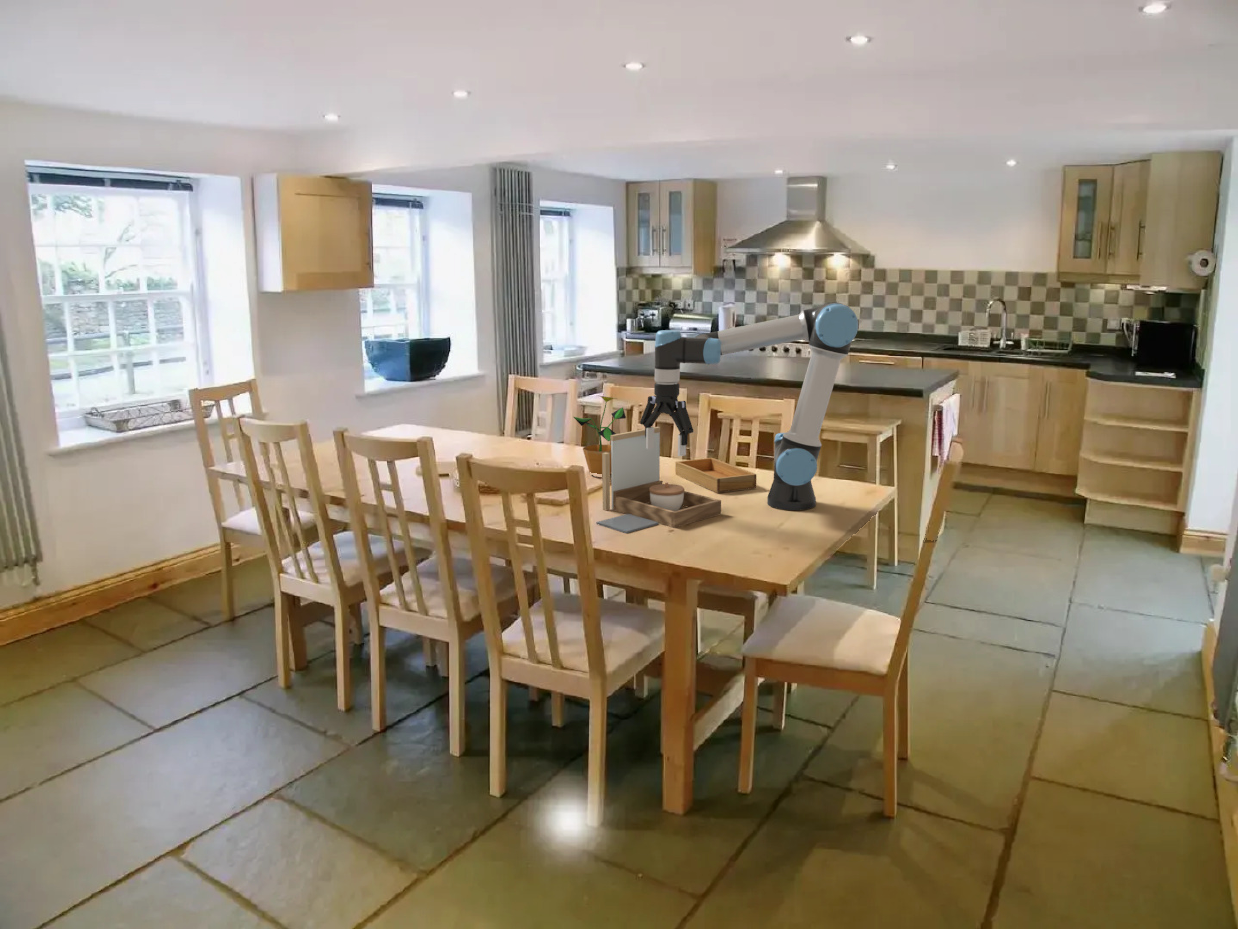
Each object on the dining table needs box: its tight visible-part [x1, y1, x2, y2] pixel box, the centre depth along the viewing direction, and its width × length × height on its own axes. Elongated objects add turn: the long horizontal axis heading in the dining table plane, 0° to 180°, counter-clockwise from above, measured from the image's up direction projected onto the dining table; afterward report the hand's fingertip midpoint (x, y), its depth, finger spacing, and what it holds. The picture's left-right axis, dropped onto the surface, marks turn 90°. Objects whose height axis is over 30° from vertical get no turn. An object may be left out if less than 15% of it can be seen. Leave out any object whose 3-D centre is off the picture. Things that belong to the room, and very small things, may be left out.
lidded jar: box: [649, 482, 685, 511], centre depth 285 cm, size 11×11×9 cm
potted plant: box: [573, 395, 627, 474], centre depth 331 cm, size 18×19×30 cm
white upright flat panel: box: [601, 426, 661, 511], centre depth 293 cm, size 3×22×24 cm, turn 133°
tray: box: [675, 457, 757, 494], centre depth 323 cm, size 31×15×6 cm, turn 23°
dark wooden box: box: [612, 480, 722, 529], centre depth 285 cm, size 26×20×6 cm
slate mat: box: [596, 513, 659, 534], centre depth 274 cm, size 13×13×1 cm
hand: (665, 452), depth 282 cm, fingers open, 13 cm apart
